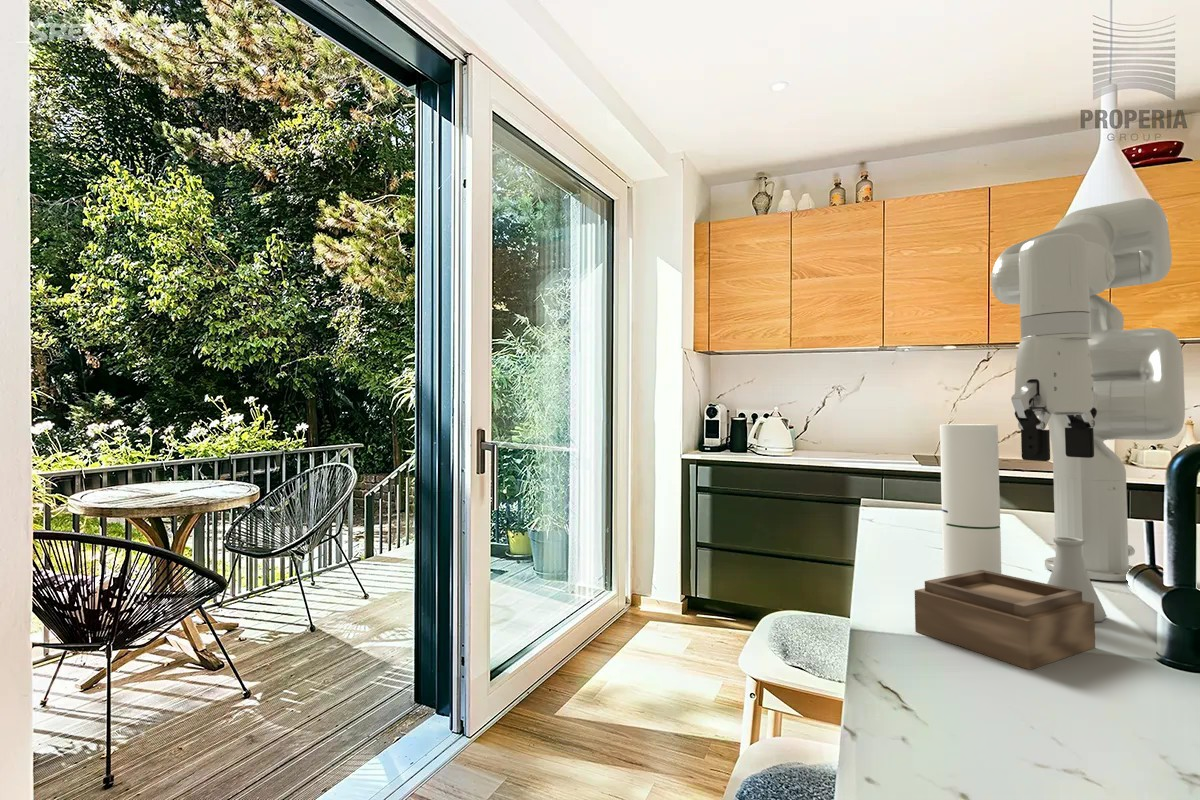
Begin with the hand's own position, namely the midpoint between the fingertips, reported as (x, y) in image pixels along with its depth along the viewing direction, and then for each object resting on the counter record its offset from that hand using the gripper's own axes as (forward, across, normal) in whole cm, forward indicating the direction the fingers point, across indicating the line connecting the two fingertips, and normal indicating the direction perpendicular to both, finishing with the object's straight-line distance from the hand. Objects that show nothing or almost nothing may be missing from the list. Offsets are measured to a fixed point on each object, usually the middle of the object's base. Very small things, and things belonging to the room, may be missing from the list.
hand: (1058, 458), depth 82 cm
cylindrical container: (+21, +5, -9) cm, 23 cm away
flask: (+21, -1, +1) cm, 21 cm away
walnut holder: (+20, +16, +2) cm, 26 cm away
